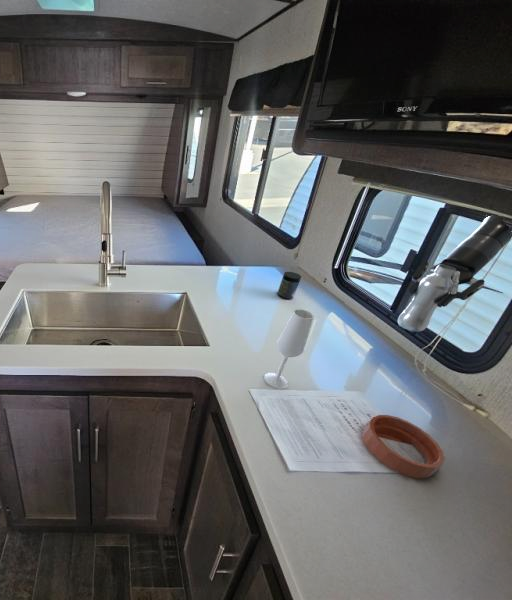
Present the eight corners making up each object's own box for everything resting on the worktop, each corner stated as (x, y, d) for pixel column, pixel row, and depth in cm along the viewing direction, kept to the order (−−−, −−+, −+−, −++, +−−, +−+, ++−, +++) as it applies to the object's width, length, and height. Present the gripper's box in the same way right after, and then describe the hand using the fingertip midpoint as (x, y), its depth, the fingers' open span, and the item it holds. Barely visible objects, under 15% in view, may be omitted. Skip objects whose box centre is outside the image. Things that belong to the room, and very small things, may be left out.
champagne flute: (292, 389, 93) (323, 321, 81) (270, 388, 93) (297, 320, 81) (281, 372, 99) (309, 307, 87) (260, 372, 99) (284, 306, 86)
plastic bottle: (393, 319, 99) (427, 260, 89) (420, 326, 96) (460, 266, 86) (396, 329, 94) (433, 268, 84) (425, 337, 92) (467, 274, 81)
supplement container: (289, 301, 137) (298, 280, 132) (274, 295, 141) (281, 274, 136) (295, 296, 142) (303, 275, 136) (280, 291, 146) (287, 270, 140)
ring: (412, 437, 80) (424, 423, 78) (443, 490, 69) (458, 475, 66) (352, 423, 84) (361, 408, 81) (371, 471, 72) (383, 456, 70)
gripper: (505, 273, 84) (455, 319, 86) (440, 253, 96) (397, 294, 97) (509, 257, 80) (456, 306, 82) (440, 238, 91) (394, 281, 93)
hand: (424, 299), depth 89 cm, fingers closed on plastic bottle, 6 cm apart
